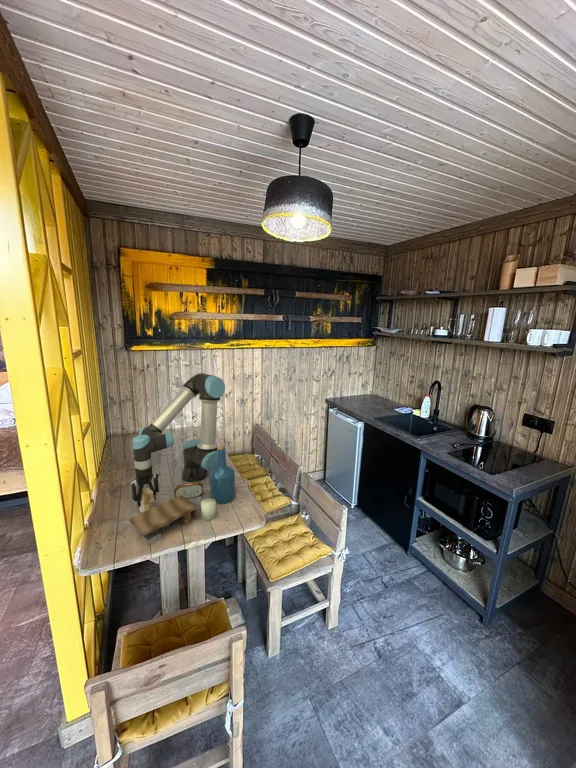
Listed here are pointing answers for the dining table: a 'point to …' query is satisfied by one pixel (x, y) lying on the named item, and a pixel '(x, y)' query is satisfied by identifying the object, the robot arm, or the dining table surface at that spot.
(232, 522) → the dining table surface
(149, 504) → the tool
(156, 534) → the grey stone block
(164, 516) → the shelf
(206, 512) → the cream cylinder
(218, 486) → the wine bottle
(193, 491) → the tin
